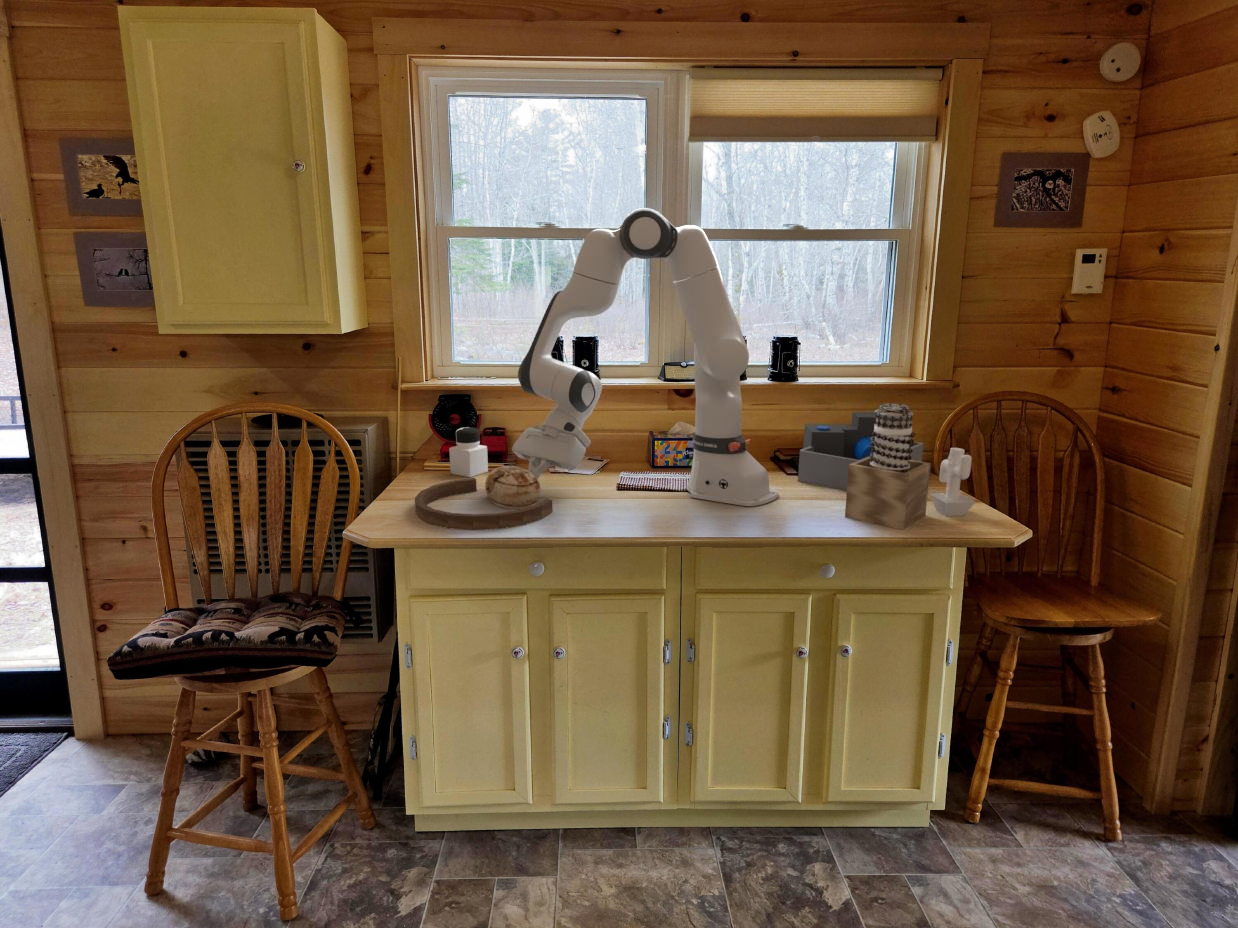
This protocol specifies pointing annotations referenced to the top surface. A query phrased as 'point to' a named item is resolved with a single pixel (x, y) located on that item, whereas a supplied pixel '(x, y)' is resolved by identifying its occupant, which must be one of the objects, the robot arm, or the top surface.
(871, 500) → the wooden box
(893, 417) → the decorative candle
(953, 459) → the figurine
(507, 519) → the brown curved arc
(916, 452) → the tray
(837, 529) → the top surface
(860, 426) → the camera
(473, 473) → the medicine bottle
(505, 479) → the trinket box
